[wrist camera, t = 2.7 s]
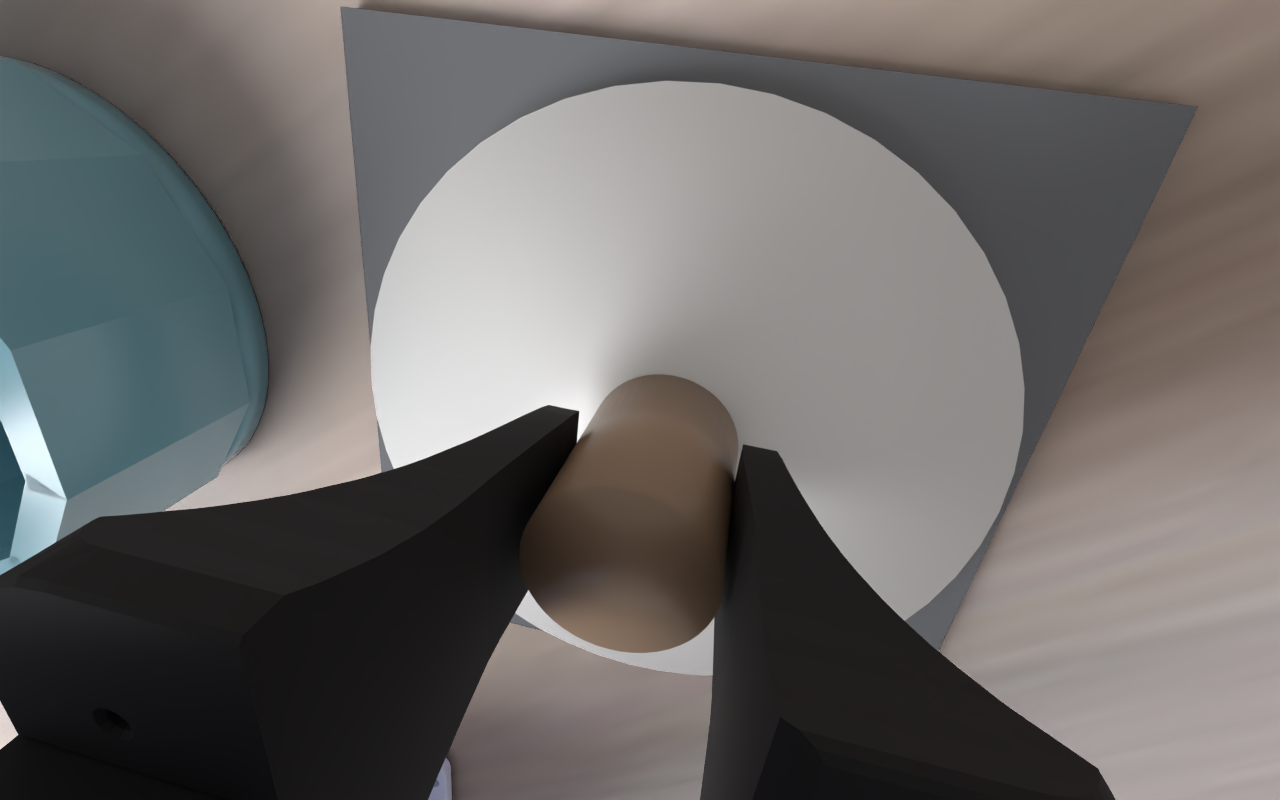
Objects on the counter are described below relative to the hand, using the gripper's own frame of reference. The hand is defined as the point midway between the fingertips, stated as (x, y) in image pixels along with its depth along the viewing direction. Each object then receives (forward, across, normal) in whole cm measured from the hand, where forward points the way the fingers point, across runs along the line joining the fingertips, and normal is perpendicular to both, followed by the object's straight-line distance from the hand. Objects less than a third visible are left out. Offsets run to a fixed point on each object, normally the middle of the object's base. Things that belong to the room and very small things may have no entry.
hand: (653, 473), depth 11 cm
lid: (+2, 0, 0) cm, 2 cm away
